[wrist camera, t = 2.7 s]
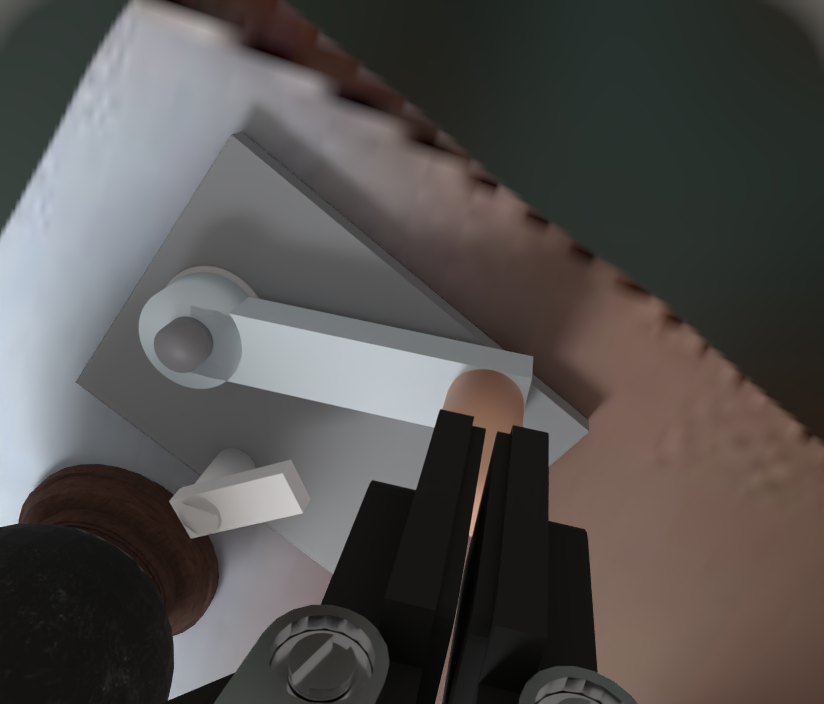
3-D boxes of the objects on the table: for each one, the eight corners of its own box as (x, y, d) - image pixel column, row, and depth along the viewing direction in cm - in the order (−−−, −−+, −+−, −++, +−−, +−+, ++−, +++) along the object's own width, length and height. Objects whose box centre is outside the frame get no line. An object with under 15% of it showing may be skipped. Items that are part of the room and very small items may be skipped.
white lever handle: (163, 356, 31) (46, 452, 24) (163, 262, 29) (35, 335, 22) (513, 434, 29) (501, 563, 22) (537, 340, 27) (532, 447, 20)
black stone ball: (125, 669, 42) (-76, 965, 29) (-33, 510, 39) (-342, 757, 26) (284, 594, 37) (132, 908, 24) (117, 405, 34) (-167, 643, 21)
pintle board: (88, 372, 34) (20, 422, 29) (242, 131, 28) (184, 148, 23) (385, 596, 36) (363, 672, 32) (588, 419, 30) (594, 483, 26)
